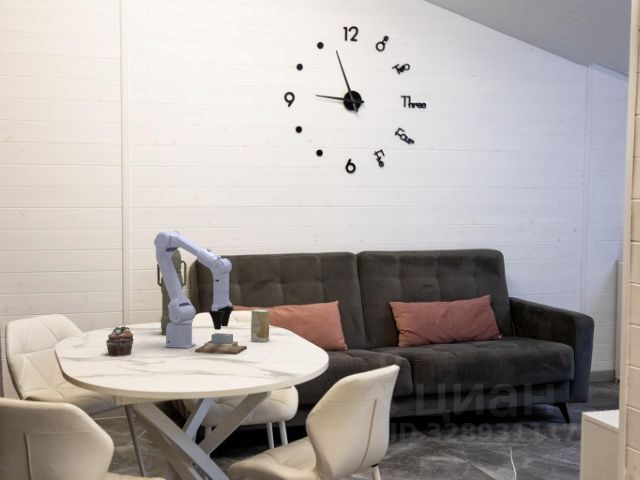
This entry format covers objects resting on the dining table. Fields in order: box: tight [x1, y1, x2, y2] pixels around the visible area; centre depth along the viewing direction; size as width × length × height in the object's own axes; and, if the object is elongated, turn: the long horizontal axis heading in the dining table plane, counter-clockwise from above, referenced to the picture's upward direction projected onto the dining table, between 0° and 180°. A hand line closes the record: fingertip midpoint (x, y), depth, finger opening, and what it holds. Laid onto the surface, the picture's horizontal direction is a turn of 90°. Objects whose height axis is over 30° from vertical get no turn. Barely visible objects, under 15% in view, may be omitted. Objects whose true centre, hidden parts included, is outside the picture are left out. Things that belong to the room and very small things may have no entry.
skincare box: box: [250, 309, 271, 343], centre depth 336 cm, size 6×4×12 cm
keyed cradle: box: [194, 339, 248, 355], centre depth 315 cm, size 16×12×3 cm
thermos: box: [156, 248, 188, 336], centre depth 350 cm, size 9×12×35 cm
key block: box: [211, 332, 234, 344], centre depth 315 cm, size 4×7×5 cm, turn 76°
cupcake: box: [105, 325, 134, 357], centre depth 307 cm, size 10×10×10 cm
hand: (221, 327), depth 315 cm, fingers open, 7 cm apart
